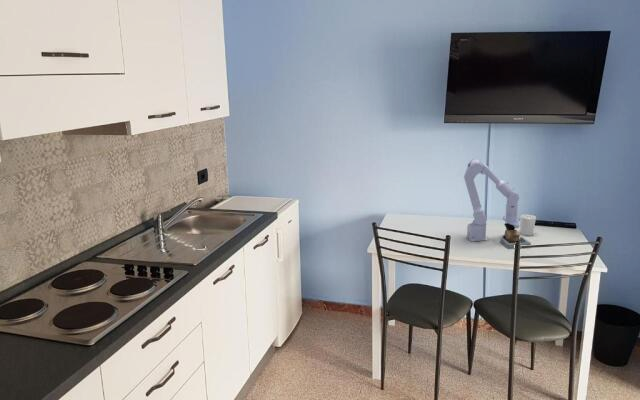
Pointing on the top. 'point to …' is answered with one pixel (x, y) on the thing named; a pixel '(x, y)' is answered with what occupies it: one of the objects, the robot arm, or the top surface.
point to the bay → (511, 246)
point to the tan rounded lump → (511, 236)
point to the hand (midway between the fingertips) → (510, 236)
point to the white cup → (527, 224)
